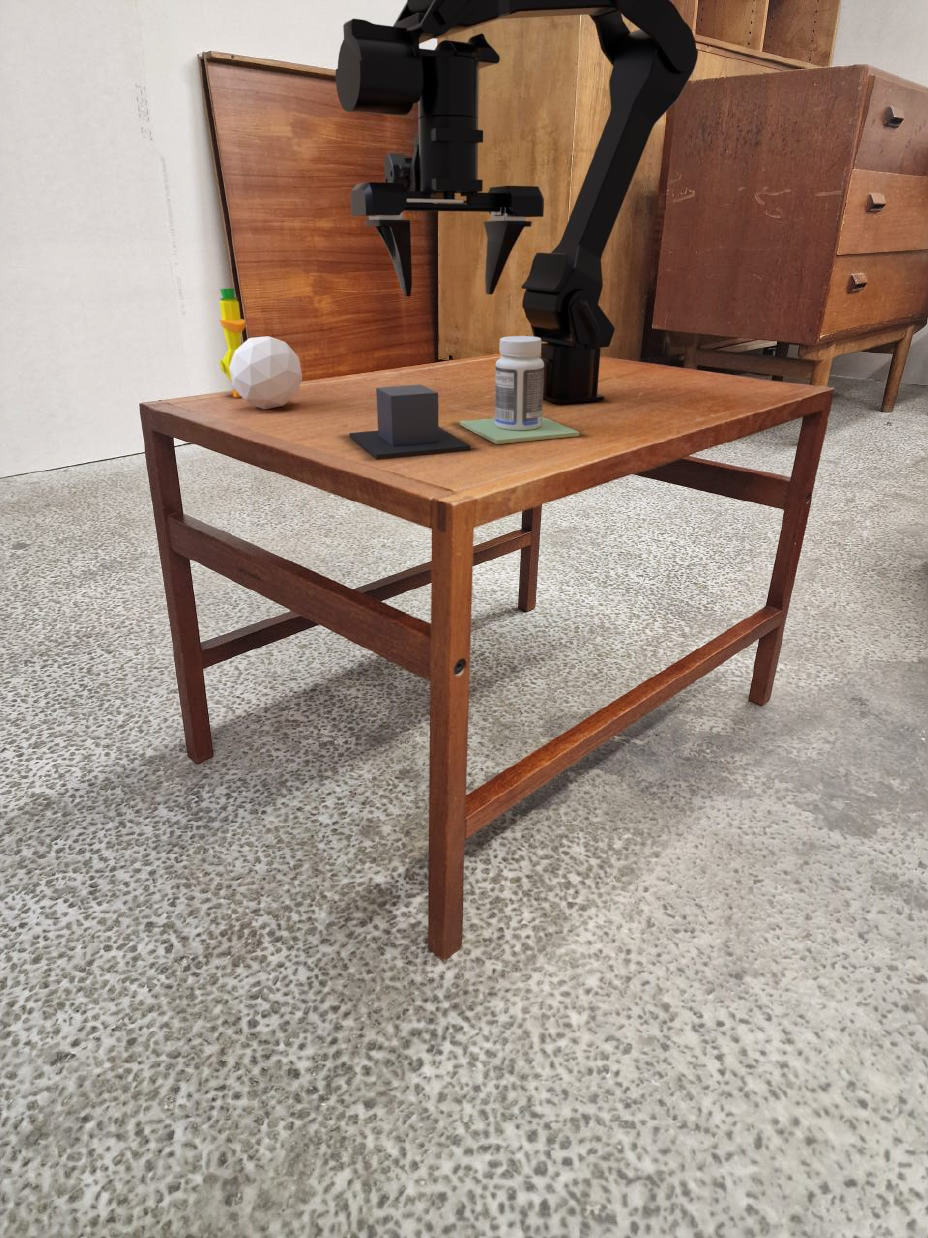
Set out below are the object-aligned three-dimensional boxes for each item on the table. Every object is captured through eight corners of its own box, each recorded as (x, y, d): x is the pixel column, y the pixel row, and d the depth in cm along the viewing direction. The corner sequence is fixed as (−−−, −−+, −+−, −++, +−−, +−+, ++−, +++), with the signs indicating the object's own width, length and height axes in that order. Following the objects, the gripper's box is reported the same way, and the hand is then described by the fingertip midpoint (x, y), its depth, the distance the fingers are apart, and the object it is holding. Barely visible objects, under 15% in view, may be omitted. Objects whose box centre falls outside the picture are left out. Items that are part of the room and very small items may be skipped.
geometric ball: (255, 430, 92) (224, 368, 93) (318, 401, 93) (287, 340, 93) (242, 408, 85) (209, 341, 85) (311, 377, 86) (278, 311, 86)
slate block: (422, 431, 78) (421, 384, 76) (438, 442, 74) (438, 392, 72) (378, 435, 77) (376, 387, 75) (392, 446, 73) (390, 395, 71)
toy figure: (262, 399, 95) (250, 289, 89) (231, 401, 93) (218, 290, 88) (249, 390, 100) (237, 286, 95) (220, 392, 99) (207, 287, 93)
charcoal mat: (436, 429, 81) (435, 425, 81) (470, 449, 73) (470, 445, 73) (349, 436, 78) (349, 432, 78) (376, 459, 70) (376, 454, 70)
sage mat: (537, 417, 86) (537, 414, 86) (579, 436, 78) (579, 431, 78) (459, 424, 83) (459, 420, 83) (495, 444, 75) (496, 440, 75)
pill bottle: (538, 420, 83) (542, 335, 79) (544, 431, 78) (548, 341, 75) (492, 420, 83) (494, 335, 79) (496, 431, 78) (497, 341, 75)
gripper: (501, 132, 86) (498, 288, 93) (331, 123, 80) (341, 292, 87) (550, 120, 77) (542, 295, 84) (363, 110, 71) (371, 299, 78)
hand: (449, 295), depth 83 cm, fingers open, 9 cm apart
